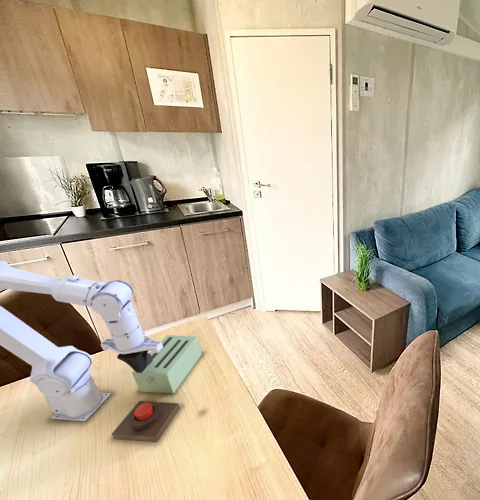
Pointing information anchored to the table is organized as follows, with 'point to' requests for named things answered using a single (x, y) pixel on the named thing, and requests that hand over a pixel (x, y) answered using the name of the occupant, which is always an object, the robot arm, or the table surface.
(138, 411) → the button
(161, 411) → the button base
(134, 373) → the toaster
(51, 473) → the table surface
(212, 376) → the table surface
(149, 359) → the browning slider
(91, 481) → the table surface
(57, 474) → the table surface
